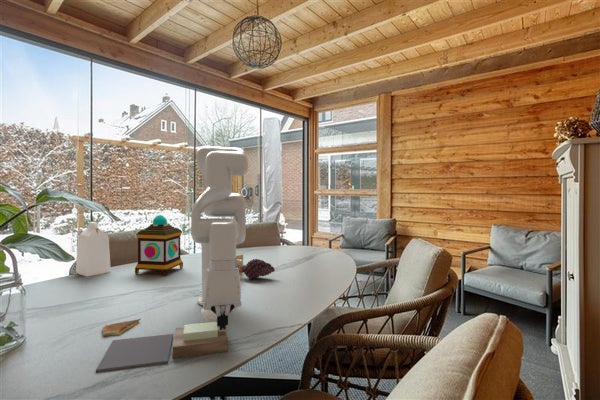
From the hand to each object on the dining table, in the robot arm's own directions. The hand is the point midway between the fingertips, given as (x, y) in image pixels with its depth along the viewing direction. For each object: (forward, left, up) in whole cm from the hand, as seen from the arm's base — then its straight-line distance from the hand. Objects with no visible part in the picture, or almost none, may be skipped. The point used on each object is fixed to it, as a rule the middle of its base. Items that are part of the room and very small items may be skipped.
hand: (222, 327), depth 94 cm
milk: (-97, -59, -4) cm, 114 cm away
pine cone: (-64, +20, -4) cm, 67 cm away
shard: (-18, -31, -5) cm, 36 cm away
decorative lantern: (-91, -27, -4) cm, 95 cm away
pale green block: (0, -6, 0) cm, 6 cm away
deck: (0, -6, -4) cm, 7 cm away
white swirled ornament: (-16, -3, -4) cm, 17 cm away
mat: (0, -22, -4) cm, 22 cm away
